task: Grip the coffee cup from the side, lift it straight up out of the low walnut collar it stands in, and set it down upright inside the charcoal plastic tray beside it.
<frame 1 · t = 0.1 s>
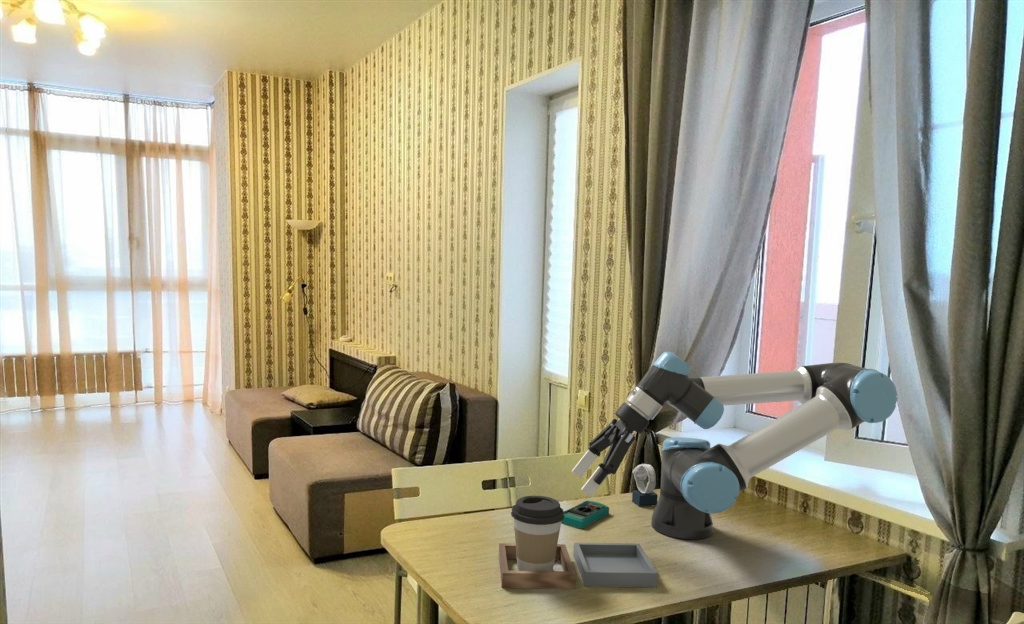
hand: (580, 483, 157), 15 cm above the table, tool tilted 35°, fingers open, 13 cm apart
watch: (644, 504, 191), on the table
collar: (535, 571, 145), on the table
tray: (613, 570, 147), on the table
digital multimeter: (583, 520, 178), on the table
coffee cup: (534, 572, 145), resting in collar
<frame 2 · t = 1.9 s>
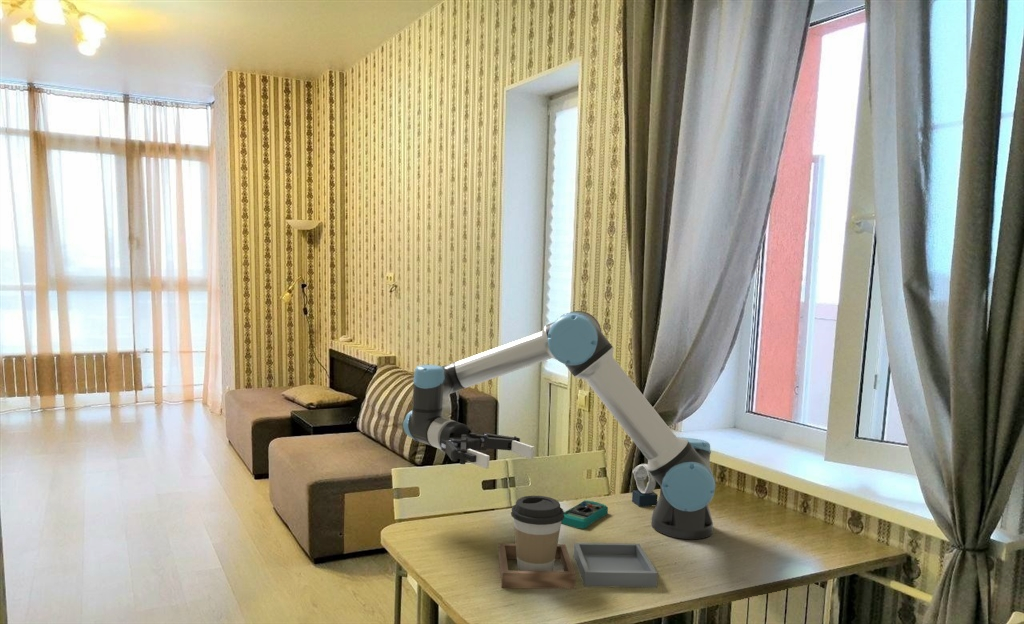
hand: (511, 457, 150), 23 cm above the table, tool horizontal, fingers open, 13 cm apart
nothing on the table moved.
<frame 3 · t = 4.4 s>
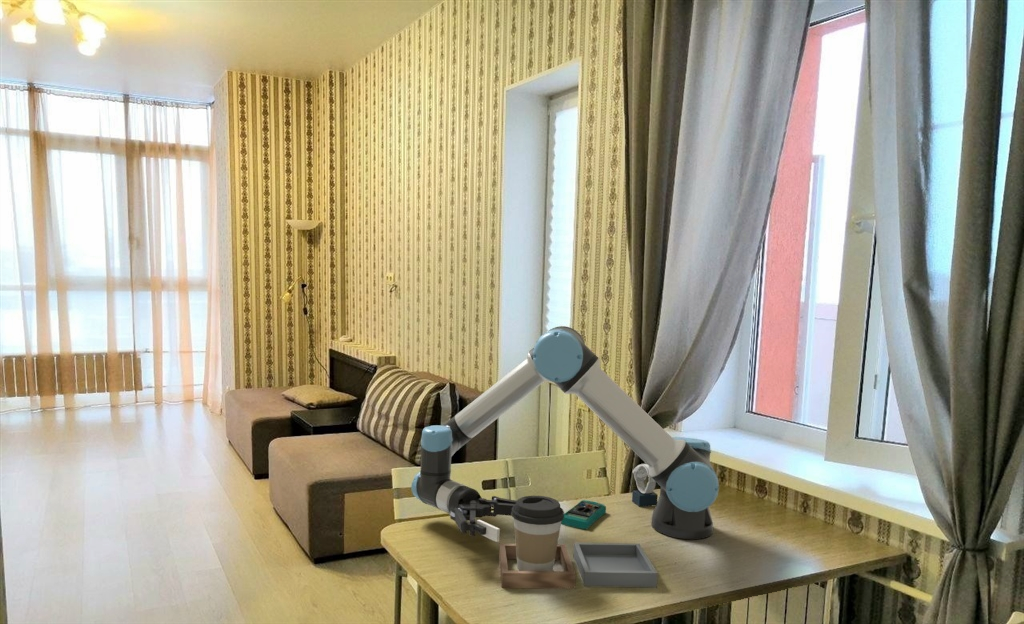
hand: (521, 527, 147), 8 cm above the table, tool horizontal, fingers open, 13 cm apart
nothing on the table moved.
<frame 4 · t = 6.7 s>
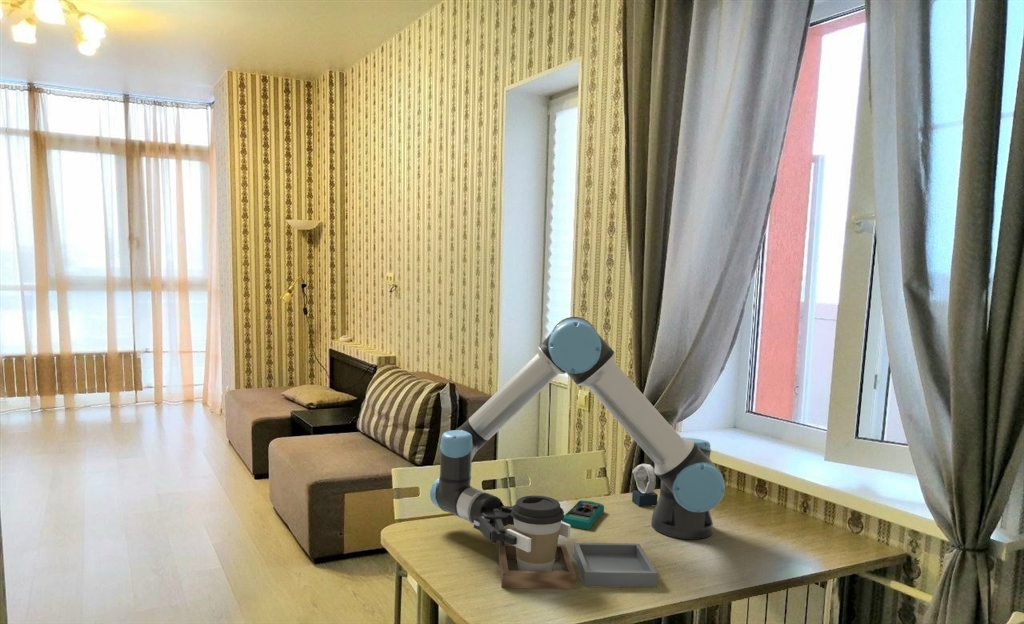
hand: (550, 538, 142), 9 cm above the table, tool horizontal, fingers closed on coffee cup, 11 cm apart
coffee cup: (534, 572, 145), resting in collar, touching gripper
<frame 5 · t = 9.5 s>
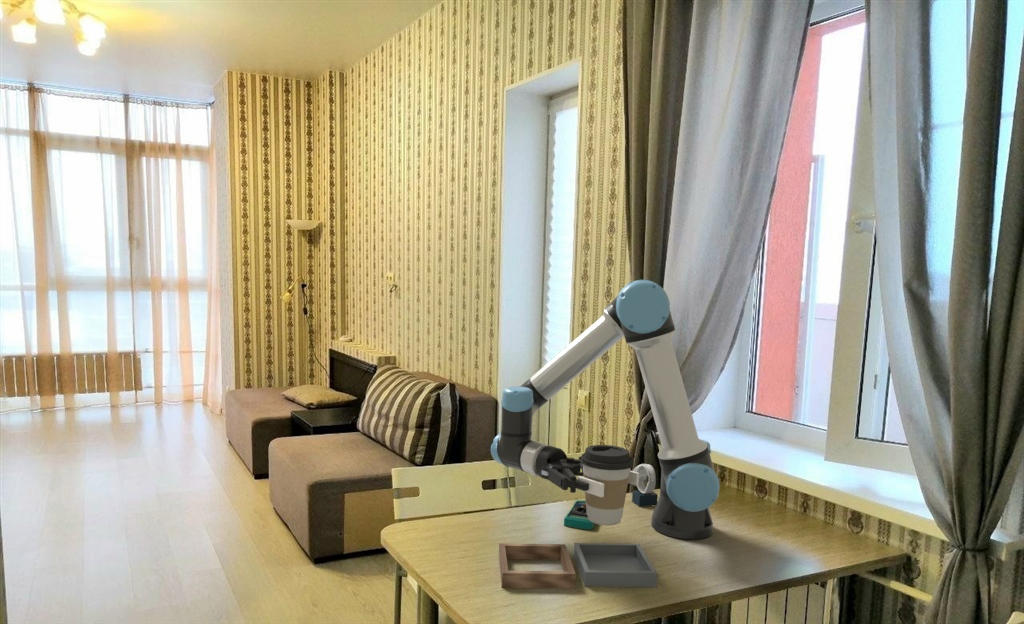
hand: (620, 484, 143), 20 cm above the table, tool horizontal, fingers closed on coffee cup, 11 cm apart
coffee cup: (604, 520, 146), point 11 cm above the table, touching gripper
when the fingers open (11 cm above the table, at t = 12.5 s): coffee cup drops 1 cm, resting on tray.
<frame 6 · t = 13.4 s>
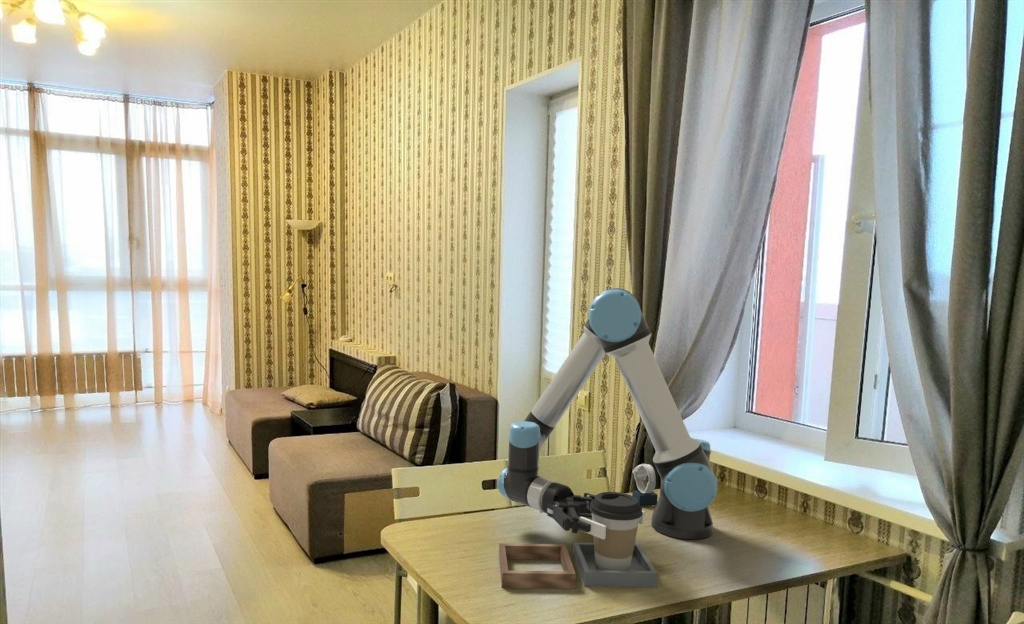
hand: (624, 525, 145), 11 cm above the table, tool horizontal, fingers open, 13 cm apart
coffee cup: (612, 567, 147), point 1 cm above the table, touching tray
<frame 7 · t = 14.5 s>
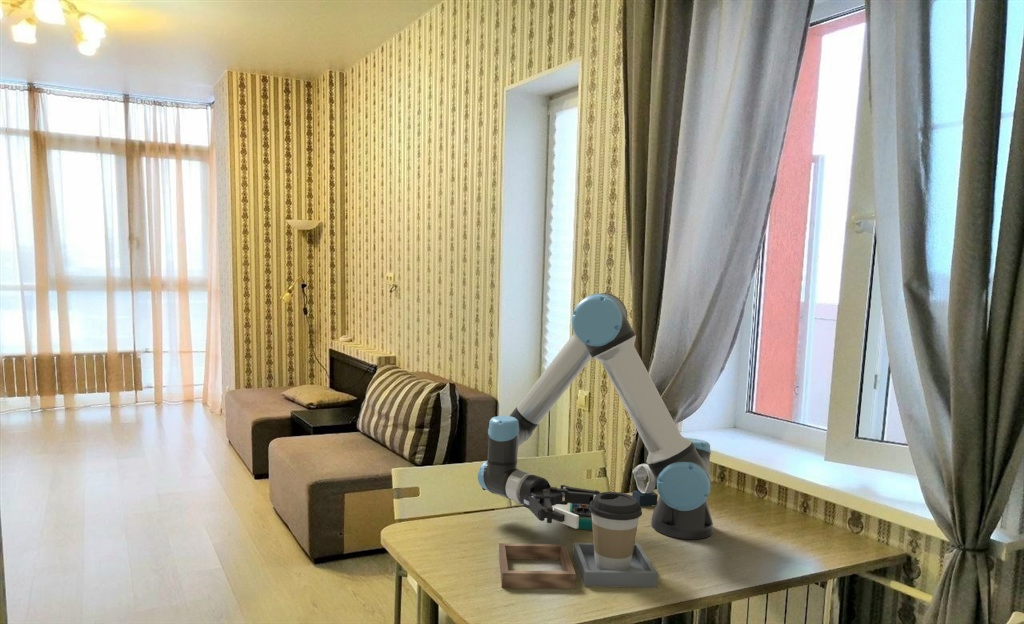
hand: (598, 515, 150), 11 cm above the table, tool horizontal, fingers open, 13 cm apart
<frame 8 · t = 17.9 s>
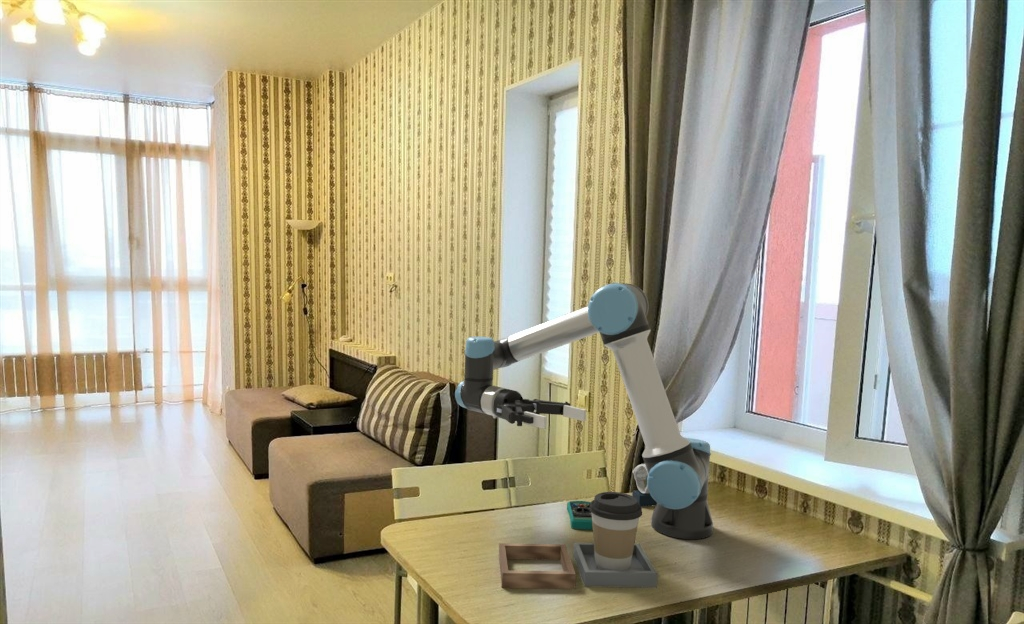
hand: (565, 419, 157), 30 cm above the table, tool horizontal, fingers open, 13 cm apart
at the end: coffee cup inside the target area on the tray (0.1 cm from its centre), point 0.6 cm above the tray's base; coffee cup tilted 0°; the gripper is holding nothing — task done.
